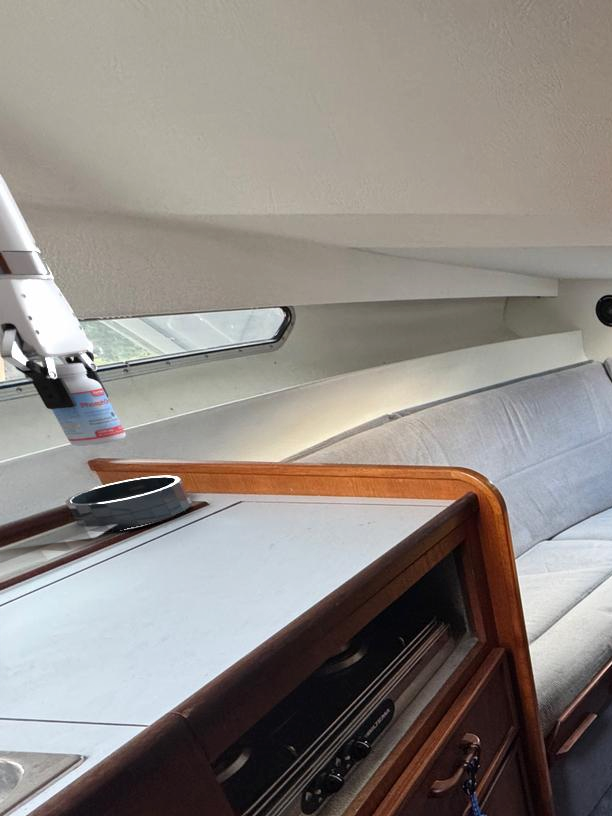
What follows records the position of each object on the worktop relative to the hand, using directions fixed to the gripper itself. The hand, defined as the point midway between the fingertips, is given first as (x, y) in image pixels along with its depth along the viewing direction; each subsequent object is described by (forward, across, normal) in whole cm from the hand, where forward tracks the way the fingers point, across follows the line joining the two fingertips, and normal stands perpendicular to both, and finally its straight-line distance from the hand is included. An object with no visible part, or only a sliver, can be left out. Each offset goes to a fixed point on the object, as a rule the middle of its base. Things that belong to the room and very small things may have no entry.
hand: (79, 402), depth 83 cm
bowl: (+19, 0, 0) cm, 19 cm away
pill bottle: (+6, 0, 0) cm, 6 cm away
